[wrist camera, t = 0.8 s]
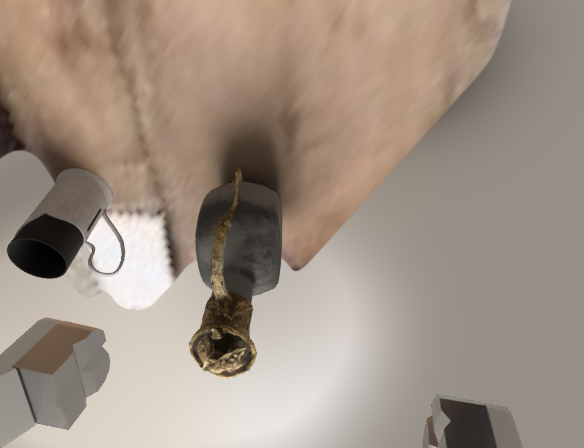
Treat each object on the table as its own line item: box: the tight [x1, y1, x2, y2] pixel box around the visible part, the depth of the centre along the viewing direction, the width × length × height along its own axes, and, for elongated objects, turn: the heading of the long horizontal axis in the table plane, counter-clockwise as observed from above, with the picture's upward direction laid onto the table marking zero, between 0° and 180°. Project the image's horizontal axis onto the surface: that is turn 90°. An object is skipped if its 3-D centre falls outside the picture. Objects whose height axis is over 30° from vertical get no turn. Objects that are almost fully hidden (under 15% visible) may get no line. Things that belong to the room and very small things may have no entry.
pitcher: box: [189, 167, 282, 378], centre depth 53 cm, size 11×19×30 cm, turn 0°
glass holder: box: [7, 168, 125, 279], centre depth 61 cm, size 9×14×15 cm, turn 58°
